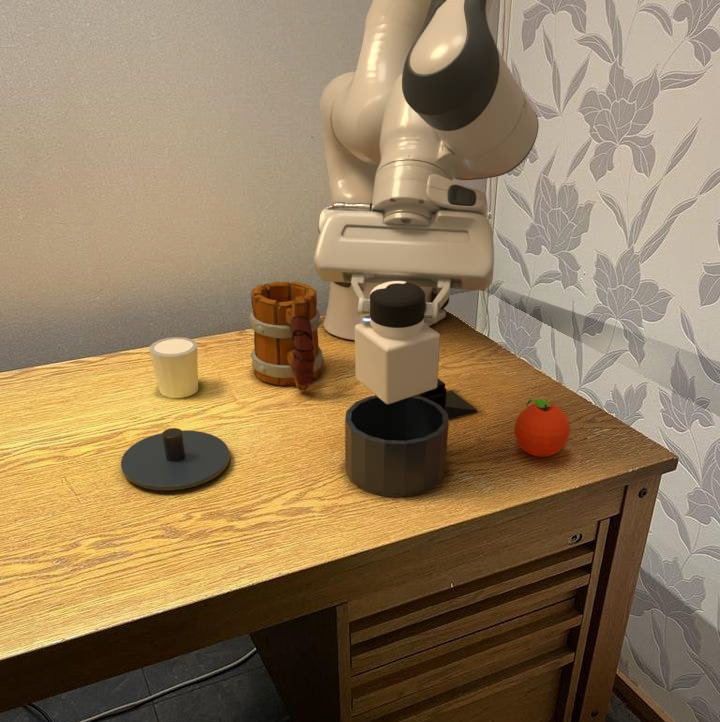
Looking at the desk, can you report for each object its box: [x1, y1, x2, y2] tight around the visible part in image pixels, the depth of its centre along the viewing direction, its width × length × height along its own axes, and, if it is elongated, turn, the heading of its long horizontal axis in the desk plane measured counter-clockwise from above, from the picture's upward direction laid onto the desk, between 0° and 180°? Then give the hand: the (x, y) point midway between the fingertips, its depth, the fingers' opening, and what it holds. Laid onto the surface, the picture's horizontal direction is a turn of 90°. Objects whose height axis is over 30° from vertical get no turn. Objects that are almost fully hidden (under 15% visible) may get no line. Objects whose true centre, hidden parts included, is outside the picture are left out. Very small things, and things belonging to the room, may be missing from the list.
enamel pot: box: [344, 394, 450, 498], centre depth 98 cm, size 12×12×8 cm
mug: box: [249, 280, 325, 391], centre depth 118 cm, size 11×16×15 cm, turn 20°
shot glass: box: [148, 336, 199, 399], centre depth 117 cm, size 7×7×7 cm
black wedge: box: [415, 378, 478, 421], centre depth 112 cm, size 12×7×5 cm, turn 117°
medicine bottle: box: [354, 281, 441, 404], centre depth 90 cm, size 7×7×12 cm
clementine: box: [514, 398, 571, 458], centre depth 102 cm, size 8×7×7 cm
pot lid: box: [120, 427, 230, 491], centre depth 100 cm, size 13×13×5 cm
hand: (397, 319), depth 89 cm, fingers closed on medicine bottle, 6 cm apart
